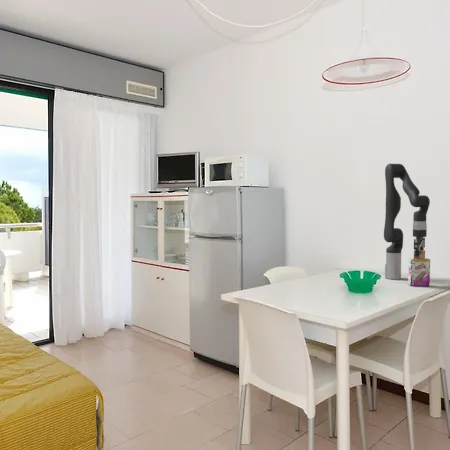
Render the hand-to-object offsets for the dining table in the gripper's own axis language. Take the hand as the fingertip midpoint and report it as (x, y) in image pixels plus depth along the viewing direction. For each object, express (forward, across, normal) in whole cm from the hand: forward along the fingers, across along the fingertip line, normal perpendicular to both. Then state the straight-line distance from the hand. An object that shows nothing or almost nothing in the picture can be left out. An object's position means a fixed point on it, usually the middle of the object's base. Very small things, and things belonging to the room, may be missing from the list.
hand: (419, 255), depth 252 cm
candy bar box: (+18, 0, 0) cm, 18 cm away
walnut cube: (+2, 0, 0) cm, 2 cm away
